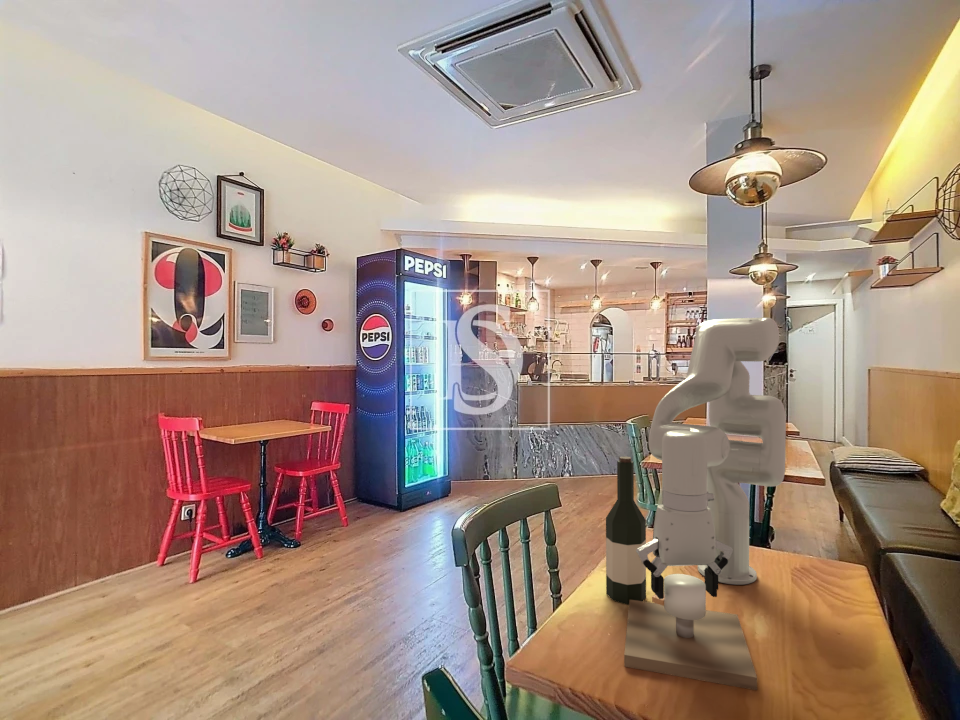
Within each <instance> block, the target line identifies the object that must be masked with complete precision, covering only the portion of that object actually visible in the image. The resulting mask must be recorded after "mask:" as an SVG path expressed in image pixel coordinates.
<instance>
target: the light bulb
mask: <svg viewBox="0 0 960 720" xmlns="http://www.w3.org/2000/svg"><path fill="white" fill-rule="evenodd" d="M663 578H664V598H663V599H659V598H658V597H657V595H656V594H655V593H654V595H652V596H651V603H657V604H660V605H663V606H664V609H665V610H666V611H667V612H668V613H669V614H671V615H672V616H675V617H677V618H681V619H686V620H698V619H701V618H703V617H705V615H706V610H707V608H706V607H707V605H706V603H707V598H706V596H707V595H706V594H707V593H706V592H707V591H706V585H705V581H703V580H702V579H700V578H699V577H697V576H694V575H690V574H683V573H672V574H668V575H666V576H665V577H663Z"/></svg>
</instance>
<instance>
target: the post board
mask: <svg viewBox="0 0 960 720" xmlns="http://www.w3.org/2000/svg"><path fill="white" fill-rule="evenodd" d="M626 623H627V624H626V632H625V633H626V634H625V643H624V654H623V655H624V657H623V658H624V659H623V662H624V663H623V665H624V666H623V667H626V668H629V669H630V668H632V669H637V670H641V671H642V670H643V671H646V672H647V671H648V672H653V673H660V674H665V675H669V676H674V677H681V678H685V679H686V678H687V679H693V680H696V681H697V680H698V681H704V682H709V683H714V684H720V685H726V686H732V687H738V688H743V689H747V690H748V689H749V690H754V691H757V690H758V677H757V672H756V669H755V667H754V663H753V661H752V657H751V654H750V650H749V647H748V644H747V641H746V638H745V635H744V631H743V629H742V628H743V627H742V624H741V621H740V618H739V615H738V614H736V613H731V612H730V613H729V612H722V611H714V610H708V609H706V615H705V617H703V618H701V619H698V620H686V619H681V618H677V617H675V616H672V615H671V614H669V613H668V612H667V611H666V610H665V609H664V606H663V605H660V604H657V603H654V602H652V601H650V602H649V601H645V600H643V601H637V600H629V604H628V613H627V622H626Z"/></svg>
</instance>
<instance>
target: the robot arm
mask: <svg viewBox="0 0 960 720" xmlns="http://www.w3.org/2000/svg"><path fill="white" fill-rule="evenodd" d="M779 342H780V330H779V326H778V324H777V322H776V321H775V320H774V319H773V318H772V317H744V318H743V317H740V318H717V319H710V320H709V319H708V320H706V321H703V322H701V323H700V324H699V325H698V324H697V327H696V329H695V337H694V341H693V345H692V351H691V355H690V358H689V363H688V367H687V368H688V369H687V372H686V377H685V379H684V380H682V381H680V382H679V383H677V384H676V385H675V386H674V387H672V388H671V389H670V390H669V391H668V392H667V393H666V394H665V395H664V396H663V397H662V398H661V400H659V402H658V404H657V405H656V407H655V410H654V414H653V416H652V420H651V424H650V429H649V434H648V449H649V452H650V454H651V456H653V457H654V459H657V460H660V461H661V471H662V473H661V479H662V480H661V483H662V485H661V488H662V489H661V493H662V494H661V496H662V497H661V500H662V503H661V504H658V505H657V508H656V511H655V515H654V521H653V530H652V540H649V541H648V542H646V544H644V545H643V546H641V547H639V548H637V550H636V552H637V554H638V556H639V558H640V560H641V562H642V563H643V564H644V566H645V567H646V570H648V571H649V572H650V589H651V591H652V592H653V593H654V595H655V594H656V595H657V597H658V598H659V599H663V598H664V578H665V577H663V575H662V574H663V573H664V571H665V570H666V569H667V568H668V567H686V566H687V567H688V566H690V567H691V566H697V571H698V572H699V573H700V574H701V575H702V576H703V577H704V583H705V585H706V592H707V593H708V594H709V595H710V596H711V597H713V598H717V597H718V590H719V583H722V584H728V585H737V586H739V585H740V586H742V585H749V584H752V583H754V582H756V580H757V577H758V574H757V571H756V570H755V569H754V568H753V567H752V566H750V502H749V499H748V496H747V494H746V493H745V491H744V490H743V488H742V487H741V486H740V484H747V485H756V486H764V487H778V486H779V485H781V484H782V483H783V481H784V479H785V475H786V472H785V471H786V443H787V441H786V439H787V438H786V431H787V419H786V410H785V406H784V403H783V402H782V400H781V399H780V398H778V397H775V396H773V395H765V394H764V395H763V394H762V395H761V394H760V395H759V394H751V393H750V379H751V377H750V372H749V370H748V369H747V368H746V366H745V365H744V364H743V362H754V363H755V362H765V361H767V360H768V359H769V358H770V357H771V356H772V355H773V354H774V353H775V352H776V351H777V348H778V346H779ZM707 403H708V404H709V405H708V420H709V421H708V422H709V425H699V424H689V423H676V422H675V423H674V420H675V419H676V418H677V417H678V416H679V415H680V414H682V413H683V412H685V411H687V410H689V409H691V408H695V407H697V406H700V405H704V404H707ZM727 434H728V435H736V436H749V437H758V438H760V439H761V440H762V442H754V441H744V440H736V439H729V438H728V435H727ZM651 553H652V555H653V556H655V557H654V559H653V560H651V561H650V559H649V556H648V555H649V554H651Z"/></svg>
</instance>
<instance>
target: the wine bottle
mask: <svg viewBox="0 0 960 720" xmlns="http://www.w3.org/2000/svg"><path fill="white" fill-rule="evenodd" d="M616 467H617V468H616V470H617V471H616V474H617V475H616V477H617V478H616V483H617V484H616V487H617V490H616V491H617V495H616V496H617V500H616V501H615V502H614V504H613V506H612V507H611V509H610V511H609V512H608V514H607V516H606V517H605V559H606V560H605V561H606V562H605V579H606V580H605V586H606V589H605V591H606V592H605V593H606V595H607V596H608V597H609V598H610V599H611V600H612V601H613V602H617V603H621V604H625V605H628V606H629V600H637V601H645V599H646V597H647V568H646V567H645V566H644V564H643V563H642V562H641V560H640V558H639V556H638V554H637V552H636V550H637V548H639V547H641V546H643V545H644V544H646V543H647V533H646V532H647V526H646V524H647V519H646V518H645V517H644V514H643V513H642V511H641V509H640V508H639V506H638V505H637V503H636V502H635V499H634V490H635V488H634V487H635V485H634V483H635V482H634V481H635V478H634V474H635V472H634V470H635V469H634V467H635V465H634V461H633V460H632V457H630V456H619V457H618V460H617V464H616Z"/></svg>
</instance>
